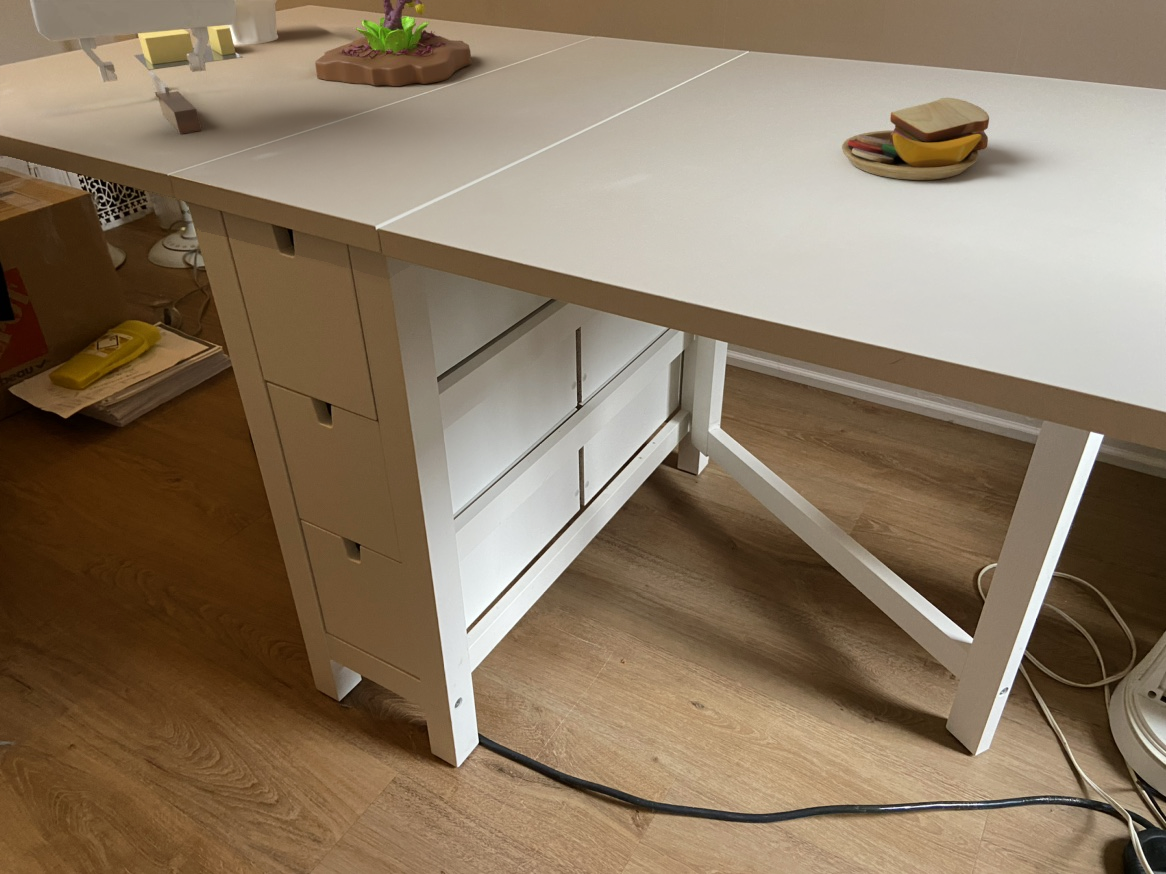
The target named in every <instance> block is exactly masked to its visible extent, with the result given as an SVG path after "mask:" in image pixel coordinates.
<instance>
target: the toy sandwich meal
mask: <svg viewBox="0 0 1166 874" xmlns="http://www.w3.org/2000/svg"><path fill="white" fill-rule="evenodd" d="M889 120H890V121H889V122H890V123H891V124H893V125H894V129H893V130H876V131H869V132H864V133H860V134H856V135H853V136H850V137H849V138H847V139H846V140H845V141H844V142H843V143H842V145H841V150H842V153H843V154H844V155H845V156H846V157H847V158H848V161H849V162H850V163H851V164H852V165H853V166H854V167H855V168H857V169H859V170H861V171H864V172H866V173H869V174H873V175H875V176H881V177H884V178H889V179H898V180H909V181H931V180H932V181H933V180H941V179H946V178H947V179H948V178H952V177H955V176H957V175H960V174H962V173H963V172H965V171H966V170H967V169H968V168H970V167H971V166H973V165H974V164H976V162H977V161H978V160H979V151H985V150H986V149H987V148H988V143H989V137H988V135H987V133H986V132H985V131H986V130H987V129H988V128H989V123H990V116H989V114H988V112H987V111H986V110H984V109H983V108H982V107H980V106H979V105H977V104H974V103H971V102H969V101H967V100H963V99H959V98H955V97H941V98H939V99H937V100H934V101H929V102H925V103H921V104H918V105H914V106H909V107H906V108H902V109H898V110H894V111H891V112H890V119H889Z"/></svg>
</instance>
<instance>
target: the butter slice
mask: <svg viewBox="0 0 1166 874" xmlns="http://www.w3.org/2000/svg"><path fill="white" fill-rule="evenodd" d="M207 30H208V34H209V40H208V42H209V44H210V45H211V49H213V50H214V51H216V52H218V53H219V54H221V55H229V54H235V53H237V51H236V48H235V45H234V44H233V39H232V35H231V31H230V28H229V27H227V26H225V25H223V26H212V27H207ZM210 45H209V46H210Z"/></svg>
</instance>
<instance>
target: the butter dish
mask: <svg viewBox="0 0 1166 874" xmlns="http://www.w3.org/2000/svg"><path fill="white" fill-rule="evenodd" d="M194 48H195V47H193V49H194ZM133 56H134V57H135V58H136V59H137V60H138V61H139V62H140V63H141V64H142V65H143V66H144V67H145V68H146V69H147V70H148V71H153V70H160V69H168V68H169V69H170V68H177V67H182V66H183V67H184V66H189V62H190V61H189V60H185V61H177V62H170V63H162V64H155V65H152V64H151V63H150V62H149V61H148V60H147V59H146V58H145V57H144V54H143V53H142V54H140V53H139V54H134V55H133ZM203 58H204V62H205V64H206V63H213V62H220V61H227V60H228V61H229V60H233V59H234V60H235V59H241V58H243V56H242V54H241V55H240V53H238V52H236V53H235V54H229V55H221V54H219V53H218V52H216V51H214V50H213V49H211V45H207V46H206V49H205V52H204V54H203Z"/></svg>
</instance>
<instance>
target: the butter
mask: <svg viewBox="0 0 1166 874" xmlns="http://www.w3.org/2000/svg"><path fill="white" fill-rule="evenodd" d="M137 36H138V40H139V44H140V46H141V50H142V54H144V57H145V58H146V59H147V60H148V61H149V62H150V63H151V64H152V65H155V64H162V63H170V62H177V61H185V60H188V59H187V55H186V54H187V53H194V52H193V51H194V49H193V48H194V46H193V41H192V38H191V33H190V32H188V30H186V29H181V30H170V31H159V32H149V33H138V34H137Z"/></svg>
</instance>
